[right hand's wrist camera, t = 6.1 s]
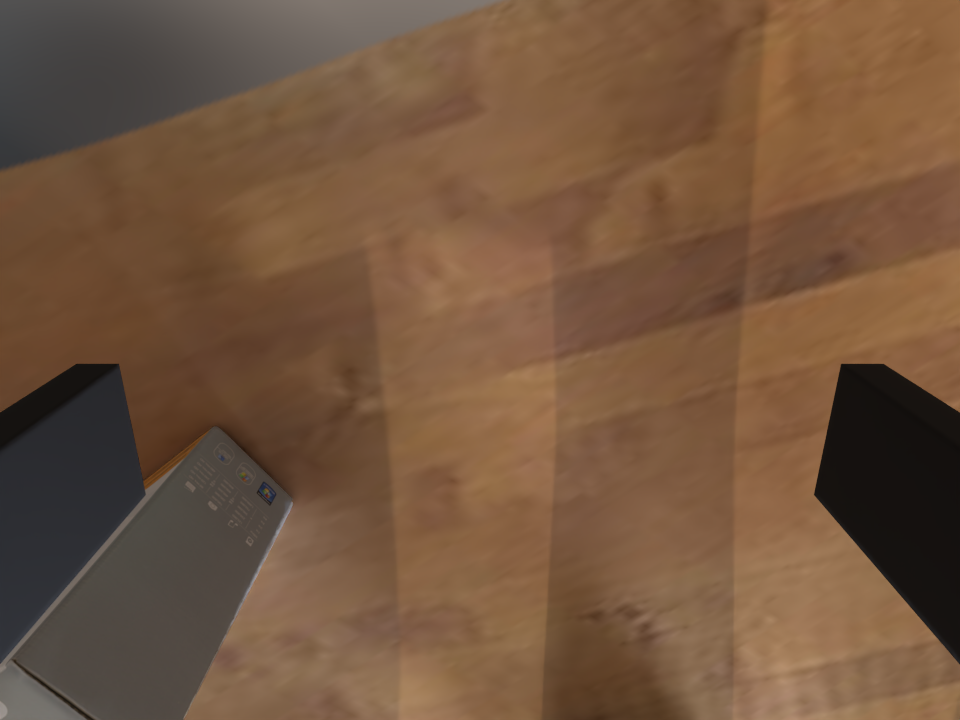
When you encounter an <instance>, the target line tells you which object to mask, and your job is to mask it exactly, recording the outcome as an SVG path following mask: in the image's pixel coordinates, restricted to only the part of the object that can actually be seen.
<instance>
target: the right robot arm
mask: <svg viewBox="0 0 960 720" xmlns="http://www.w3.org/2000/svg"><path fill="white" fill-rule="evenodd" d="M145 495H146V493H145V488H144V483H143V478H142V473H141V469H140V464H139V459H138V454H137V449H136V444H135V440H134V435H133V430H132V425H131V420H130V416H129V411H128V406H127V401H126V396H125V392H124V387H123V382H122V377H121V372H120V368H119V364H76V365H74V366H73V367H71V368H69V369H68V370H66V371H65V372H63V373H62V374H60V375H58V376H57V377H55V378H54V379H52V380H51V381H49V382H48V383H46V384H44V385H43V386H41V387H40V388H38V389H37V390H35V391H33V392H32V393H30V394H29V395H27V396H26V397H24V398H22V399H21V400H19V401H18V402H16V403H15V404H13V405H11V406H10V407H8V408H7V409H5V410H4V411H2V412H1V413H0V664H1V663H2V662H3V660H4V659H5V658H6V657H7V656H8V655H9V653H10V652H11V651H12V650H13V649H14V648H15V646H16V645H17V644H18V643H19V642H20V641H21V639H22V638H23V637H24V636H25V635H26V634H27V632H28V631H29V630H30V629H31V628H32V627H33V625H34V624H35V623H36V622H37V621H38V620H39V619H40V617H41V616H42V615H43V614H44V613H45V612H46V610H47V609H48V608H49V607H50V606H51V605H52V603H53V602H54V601H55V600H56V599H57V598H58V596H59V595H60V594H61V593H62V592H63V591H64V589H65V588H66V587H67V586H68V585H69V584H70V582H71V581H72V580H73V579H74V578H75V577H76V576H77V574H78V573H79V572H80V571H81V570H82V569H83V567H84V566H85V565H86V564H87V563H88V562H89V560H90V559H91V558H92V557H93V556H94V555H95V553H96V552H97V551H98V550H99V549H100V548H101V546H102V545H103V544H104V543H105V542H106V541H107V539H108V538H109V537H110V536H111V535H112V534H113V532H114V531H115V530H116V529H117V528H118V527H119V526H120V524H121V523H122V522H123V521H124V520H125V519H126V517H127V516H128V515H129V514H130V513H131V512H132V510H133V509H134V508H135V507H136V506H137V505H138V503H139V502H140V501H141V500H142V499H143V498H144V496H145ZM814 495H815V496H816V498H817V499H818V500H819V501H820V502H821V503H822V505H823V506H824V507H825V508H826V509H827V510H828V512H829V513H830V514H831V515H832V516H833V517H834V519H835V520H836V521H837V522H838V523H839V524H840V526H841V527H842V528H843V529H844V530H845V531H846V532H847V534H848V535H849V536H850V537H851V538H852V539H853V541H854V542H855V543H856V544H857V545H858V546H859V548H860V549H861V550H862V551H863V552H864V553H865V555H866V556H867V557H868V558H869V559H870V560H871V562H872V563H873V564H874V565H875V566H876V567H877V569H878V570H879V571H880V572H881V573H882V574H883V576H884V577H885V578H886V579H887V580H888V581H889V582H890V584H891V585H892V586H893V587H894V588H895V589H896V591H897V592H898V593H899V594H900V595H901V596H902V598H903V599H904V600H905V601H906V602H907V603H908V605H909V606H910V607H911V608H912V609H913V610H914V612H915V613H916V614H917V615H918V616H919V617H920V619H921V620H922V621H923V622H924V623H925V624H926V625H927V627H928V628H929V629H930V630H931V631H932V632H933V634H934V635H935V636H936V637H937V638H938V639H939V641H940V642H941V643H942V644H943V645H944V646H945V648H946V649H947V650H948V651H949V652H950V653H951V655H952V656H953V657H954V658H955V659H956V660H957V662H958V663H959V664H960V413H959V412H958V411H956V410H955V409H953V408H952V407H950V406H949V405H947V404H945V403H944V402H942V401H941V400H939V399H938V398H936V397H934V396H933V395H931V394H930V393H928V392H927V391H925V390H923V389H922V388H920V387H919V386H917V385H916V384H914V383H912V382H911V381H909V380H908V379H906V378H905V377H903V376H902V375H900V374H898V373H897V372H895V371H894V370H892V369H891V368H889V367H887V366H886V365H884V364H841V368H840V372H839V377H838V382H837V387H836V392H835V396H834V401H833V406H832V411H831V416H830V420H829V425H828V430H827V435H826V440H825V444H824V449H823V454H822V459H821V464H820V468H819V473H818V478H817V483H816V488H815V493H814Z"/></svg>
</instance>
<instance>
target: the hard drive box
mask: <svg viewBox="0 0 960 720" xmlns="http://www.w3.org/2000/svg"><path fill="white" fill-rule="evenodd" d="M143 483H144V488H145V493H146V495H145V496H144V498H143V499H142V500H141V501H140V502H139V503H138V505H137V506H136V507H135V508H134V509H133V510H132V512H131V513H130V514H129V515H128V516H127V517H126V519H125V520H124V521H123V522H122V523H121V524H120V526H119V527H118V528H117V529H116V530H115V531H114V532H113V534H112V535H111V536H110V537H109V538H108V539H107V541H106V542H105V543H104V544H103V545H102V546H101V548H100V549H99V550H98V551H97V552H96V553H95V555H94V556H93V557H92V558H91V559H90V560H89V562H88V563H87V564H86V565H85V566H84V567H83V569H82V570H81V571H80V572H79V573H78V574H77V576H76V577H75V578H74V579H73V580H72V581H71V582H70V584H69V585H68V586H67V587H66V588H65V589H64V591H63V592H62V593H61V594H60V595H59V596H58V598H57V599H56V600H55V601H54V602H53V603H52V605H51V606H50V607H49V608H48V609H47V610H46V612H45V613H44V614H43V615H42V616H41V617H40V619H39V620H38V621H37V622H36V623H35V624H34V625H33V627H32V628H31V629H30V630H29V631H28V632H27V634H26V635H25V636H24V637H23V638H22V639H21V641H20V642H19V643H18V644H17V645H16V646H15V648H14V649H13V650H12V651H11V652H10V653H9V655H8V656H7V657H6V658H5V659H4V660H3V662H2V663H1V664H0V720H184V718H185V716H186V714H187V712H188V710H189V708H190V706H191V704H192V702H193V700H194V698H195V696H196V694H197V692H198V691H199V689H200V687H201V685H202V683H203V681H204V679H205V677H206V675H207V673H208V671H209V669H210V667H211V665H212V663H213V661H214V659H215V657H216V655H217V653H218V651H219V649H220V647H221V645H222V643H223V641H224V639H225V637H226V635H227V633H228V631H229V629H230V628H231V626H232V624H233V622H234V620H235V618H236V616H237V614H238V612H239V610H240V608H241V606H242V604H243V602H244V600H245V598H246V596H247V594H248V592H249V590H250V588H251V586H252V584H253V582H254V581H255V579H256V577H257V575H258V573H259V571H260V569H261V567H262V565H263V563H264V561H265V559H266V557H267V555H268V553H269V551H270V549H271V547H272V545H273V543H274V541H275V539H276V538H277V536H278V534H279V532H280V530H281V528H282V526H283V524H284V522H285V520H286V518H287V516H288V514H289V512H290V510H291V508H292V505H293V502H292V498H291V497H290V496H289V495H288V494H287V493H286V492H285V491H284V490H283V489H282V488H281V487H280V486H279V485H278V484H277V483H276V482H275V481H274V480H273V479H272V478H271V477H270V476H269V475H268V474H267V473H266V472H265V471H264V470H263V469H262V468H261V467H260V466H258V465H257V464H256V463H255V462H254V461H253V460H252V459H251V458H250V457H249V456H248V455H247V454H246V453H245V452H244V451H243V450H242V449H241V448H240V447H239V446H238V445H237V444H236V443H235V442H234V441H233V440H232V439H231V438H230V437H229V436H228V435H227V434H225V433H224V432H223V431H222V430H221V429H220V428H219V427H217V426H214V427H212V428H211V429H210V430H208V431H207V432H206V433H204V434H203V435H202V436H200V437H199V438H198V439H197V440H195V441H194V442H193V443H192V444H190V445H189V446H188V447H187V448H185V449H184V450H183V451H181V452H180V453H179V454H178V455H176V456H175V457H174V458H173V459H171V460H170V461H169V462H167V463H166V464H165V465H164V466H162V467H161V468H160V469H159V470H157V471H156V472H155V473H153V474H152V475H151V476H150V477H148V478H147V479H146V480H145V481H143Z"/></svg>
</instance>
